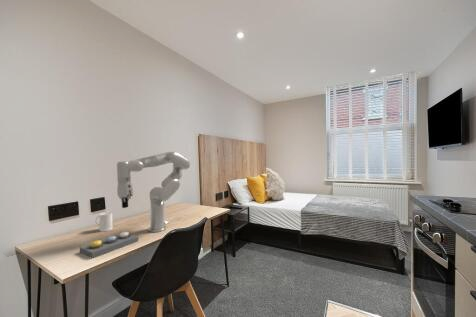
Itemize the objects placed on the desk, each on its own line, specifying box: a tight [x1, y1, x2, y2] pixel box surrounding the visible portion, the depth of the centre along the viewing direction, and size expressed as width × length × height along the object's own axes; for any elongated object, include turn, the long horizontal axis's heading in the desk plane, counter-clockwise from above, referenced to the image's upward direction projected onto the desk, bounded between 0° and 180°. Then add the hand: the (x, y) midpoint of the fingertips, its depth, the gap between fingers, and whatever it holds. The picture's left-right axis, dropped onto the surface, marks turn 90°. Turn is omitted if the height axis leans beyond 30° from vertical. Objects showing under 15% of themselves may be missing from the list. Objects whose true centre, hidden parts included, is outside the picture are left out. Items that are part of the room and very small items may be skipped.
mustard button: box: [90, 239, 102, 247], centre depth 113 cm, size 5×5×2 cm
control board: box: [79, 233, 139, 259], centre depth 120 cm, size 26×14×3 cm, turn 150°
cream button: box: [119, 231, 130, 238], centre depth 127 cm, size 5×5×2 cm
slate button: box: [105, 235, 117, 242], centre depth 120 cm, size 5×5×2 cm
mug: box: [95, 211, 114, 233], centre depth 150 cm, size 12×8×12 cm
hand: (125, 207), depth 133 cm, fingers closed
